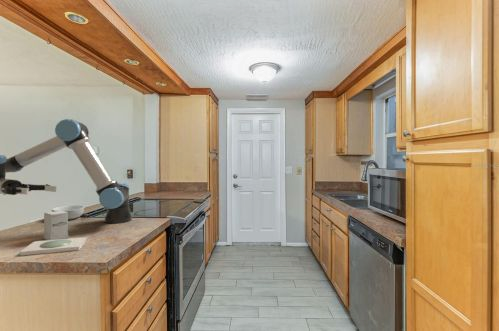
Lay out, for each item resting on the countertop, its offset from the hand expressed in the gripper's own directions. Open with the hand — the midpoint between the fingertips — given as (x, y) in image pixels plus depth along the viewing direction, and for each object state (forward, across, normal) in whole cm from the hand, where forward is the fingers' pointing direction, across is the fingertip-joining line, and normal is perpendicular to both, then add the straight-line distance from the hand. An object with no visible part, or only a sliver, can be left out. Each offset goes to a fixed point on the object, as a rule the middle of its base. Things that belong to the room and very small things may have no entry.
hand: (42, 190), depth 129 cm
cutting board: (+22, +10, -22) cm, 33 cm away
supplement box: (+10, 0, -22) cm, 25 cm away
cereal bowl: (-21, -34, -23) cm, 46 cm away
